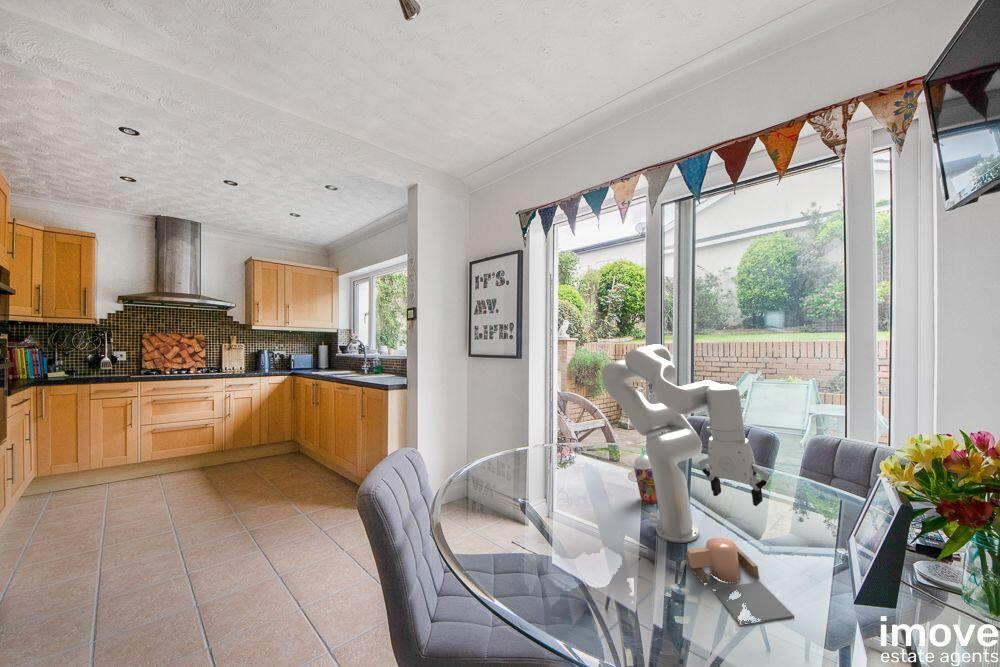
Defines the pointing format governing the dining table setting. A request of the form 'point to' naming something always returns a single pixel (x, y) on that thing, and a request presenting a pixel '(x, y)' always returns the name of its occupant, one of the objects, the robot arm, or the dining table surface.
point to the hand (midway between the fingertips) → (736, 498)
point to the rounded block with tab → (717, 559)
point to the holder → (741, 558)
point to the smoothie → (645, 478)
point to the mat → (753, 602)
